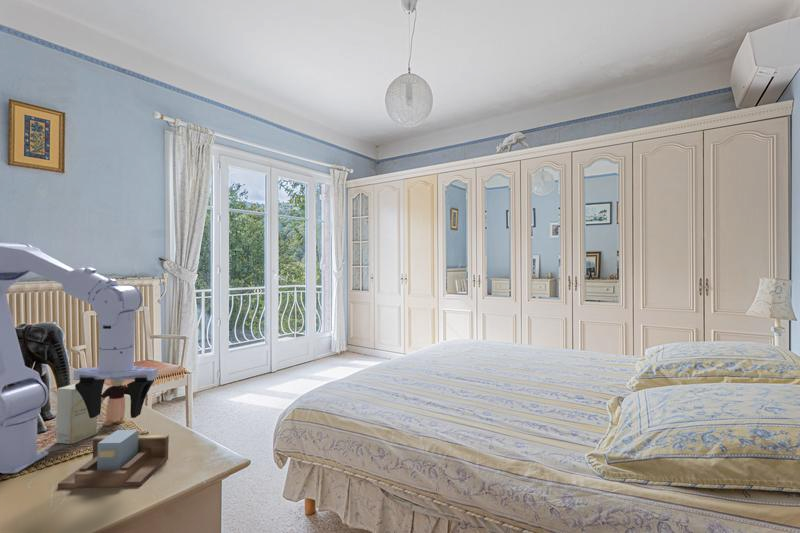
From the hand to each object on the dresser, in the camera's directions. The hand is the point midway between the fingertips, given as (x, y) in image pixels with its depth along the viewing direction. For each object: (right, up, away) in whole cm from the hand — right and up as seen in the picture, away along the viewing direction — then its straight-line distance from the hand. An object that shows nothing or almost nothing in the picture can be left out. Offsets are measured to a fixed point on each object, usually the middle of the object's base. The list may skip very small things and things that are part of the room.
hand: (115, 416), depth 79 cm
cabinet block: (+1, -10, -1) cm, 10 cm away
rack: (+1, -10, -1) cm, 10 cm away
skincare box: (-18, -10, +13) cm, 25 cm away
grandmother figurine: (-16, -10, +23) cm, 29 cm away
